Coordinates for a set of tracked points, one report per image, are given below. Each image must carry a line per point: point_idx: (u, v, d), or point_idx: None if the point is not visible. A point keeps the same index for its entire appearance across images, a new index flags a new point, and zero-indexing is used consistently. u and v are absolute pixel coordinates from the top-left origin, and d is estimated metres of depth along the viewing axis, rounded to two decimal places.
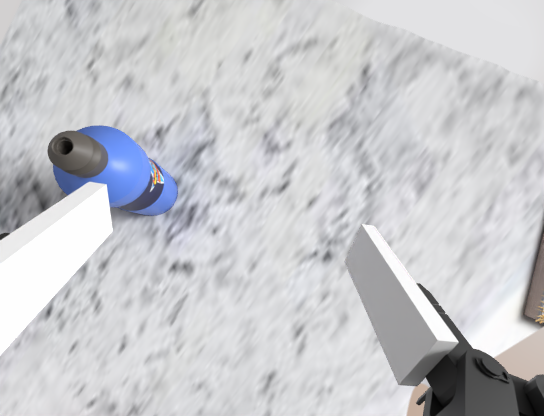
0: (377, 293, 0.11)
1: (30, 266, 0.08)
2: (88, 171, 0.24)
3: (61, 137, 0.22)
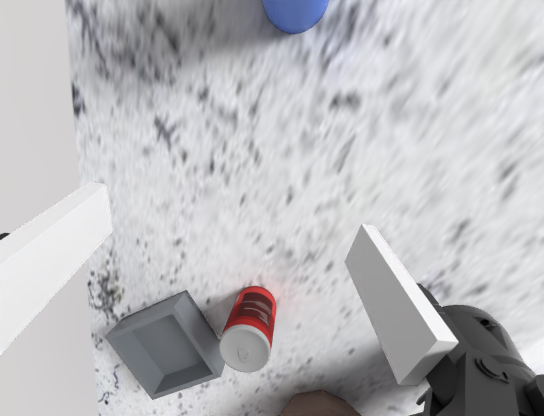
0: (377, 293, 0.11)
1: (31, 266, 0.08)
2: None
3: None
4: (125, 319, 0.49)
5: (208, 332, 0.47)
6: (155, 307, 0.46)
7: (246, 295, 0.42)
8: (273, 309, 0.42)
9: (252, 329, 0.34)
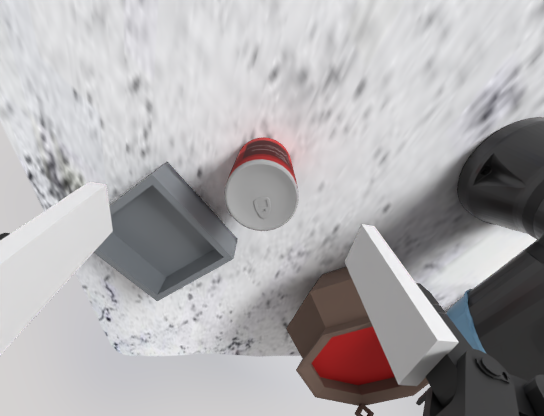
0: (377, 293, 0.11)
1: (30, 266, 0.08)
2: None
3: None
4: None
5: (208, 213, 0.37)
6: (130, 190, 0.34)
7: (250, 144, 0.30)
8: (289, 159, 0.31)
9: (270, 162, 0.23)
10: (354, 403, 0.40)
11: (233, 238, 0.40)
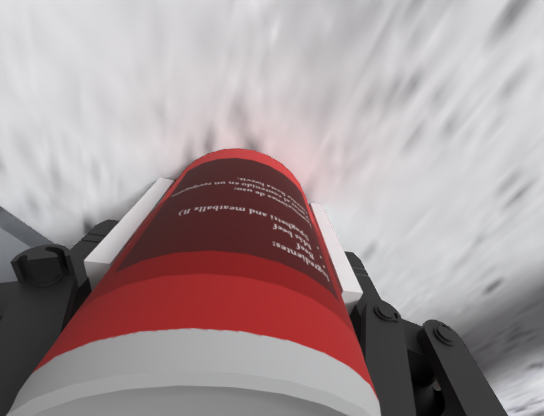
0: None
1: None
2: None
3: None
4: None
5: None
6: None
7: (193, 171, 0.10)
8: (309, 210, 0.11)
9: (239, 365, 0.03)
10: None
11: None
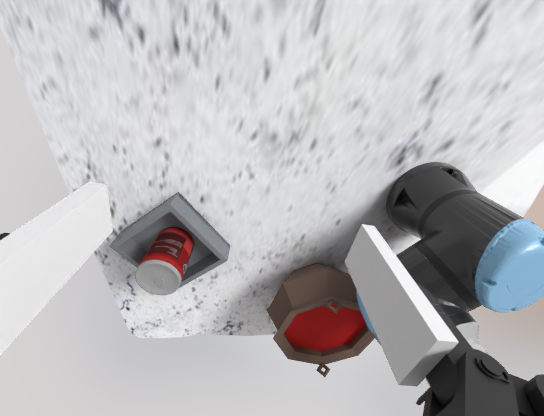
0: (377, 293, 0.11)
1: (31, 266, 0.08)
2: None
3: None
4: (124, 230, 0.50)
5: (208, 227, 0.50)
6: (151, 212, 0.48)
7: (160, 235, 0.48)
8: (187, 243, 0.48)
9: (158, 262, 0.41)
10: (316, 363, 0.55)
11: (227, 245, 0.53)
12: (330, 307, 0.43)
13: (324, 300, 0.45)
